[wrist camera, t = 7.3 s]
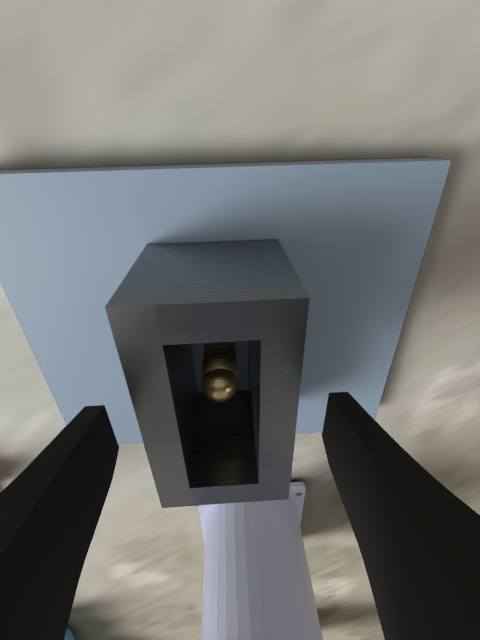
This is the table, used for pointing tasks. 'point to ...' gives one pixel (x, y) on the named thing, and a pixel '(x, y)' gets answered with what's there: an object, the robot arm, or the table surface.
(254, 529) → the robot arm
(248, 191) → the keeper plate
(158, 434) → the grey slotted block
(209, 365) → the pin
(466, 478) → the table surface
